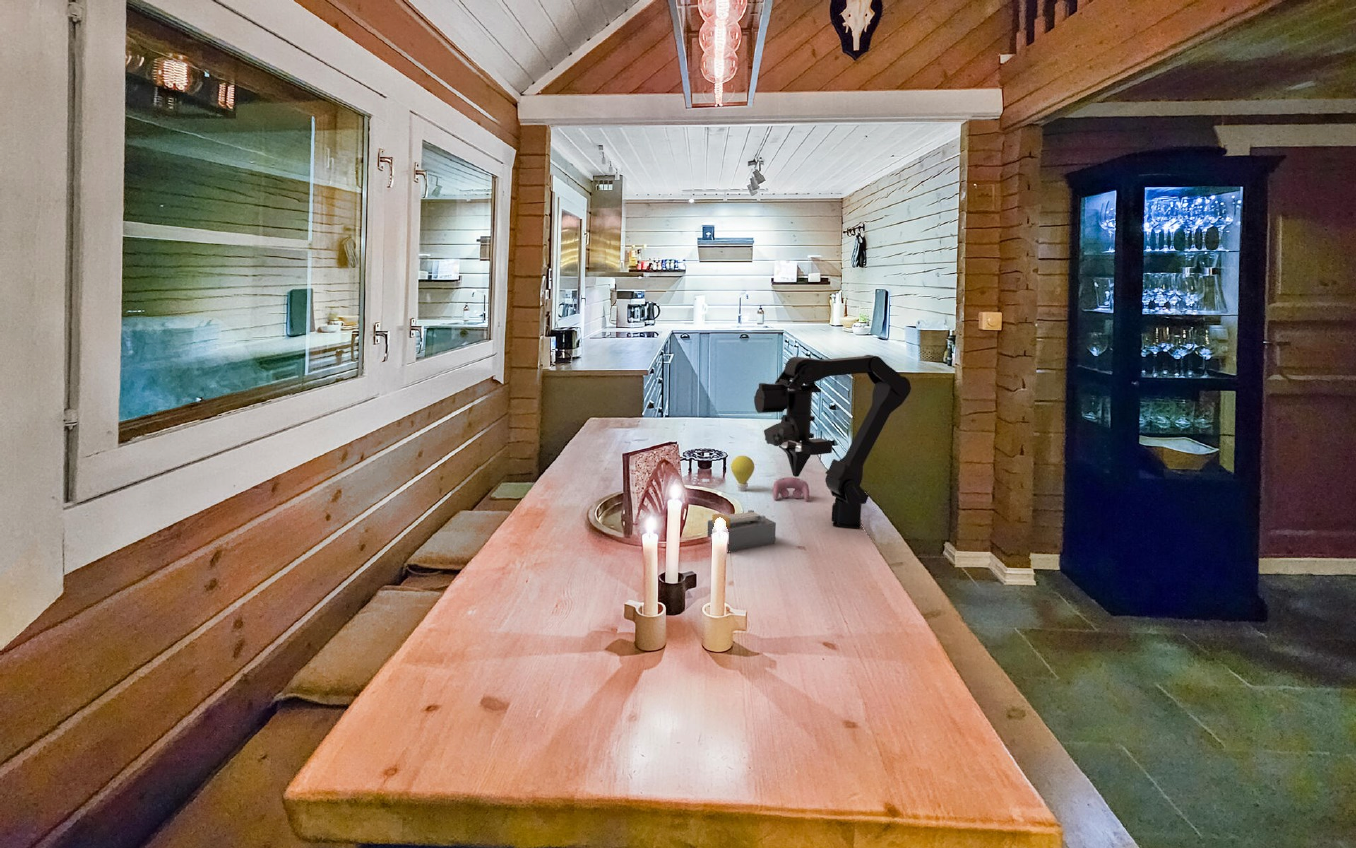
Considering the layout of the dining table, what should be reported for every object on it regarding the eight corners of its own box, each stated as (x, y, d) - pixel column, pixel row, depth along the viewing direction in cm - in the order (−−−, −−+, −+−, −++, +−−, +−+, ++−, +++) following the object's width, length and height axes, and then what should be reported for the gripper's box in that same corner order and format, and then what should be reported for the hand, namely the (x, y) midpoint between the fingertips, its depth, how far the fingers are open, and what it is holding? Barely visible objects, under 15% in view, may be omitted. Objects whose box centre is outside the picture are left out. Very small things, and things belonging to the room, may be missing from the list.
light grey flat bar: (754, 516, 170) (754, 511, 170) (762, 519, 167) (762, 515, 167) (723, 519, 166) (723, 515, 166) (730, 523, 163) (730, 518, 163)
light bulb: (754, 493, 208) (755, 458, 206) (730, 493, 208) (731, 458, 206) (752, 487, 215) (753, 453, 213) (729, 486, 215) (730, 453, 213)
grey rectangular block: (755, 533, 174) (756, 504, 173) (775, 544, 167) (776, 514, 166) (707, 541, 168) (708, 512, 167) (726, 553, 161) (726, 522, 160)
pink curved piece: (808, 504, 204) (808, 479, 206) (809, 501, 200) (809, 475, 202) (772, 502, 205) (772, 478, 207) (773, 499, 201) (773, 474, 202)
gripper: (747, 407, 177) (745, 471, 180) (795, 420, 161) (792, 489, 164) (785, 404, 182) (783, 466, 185) (835, 416, 166) (831, 484, 169)
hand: (795, 476), depth 175 cm, fingers closed
